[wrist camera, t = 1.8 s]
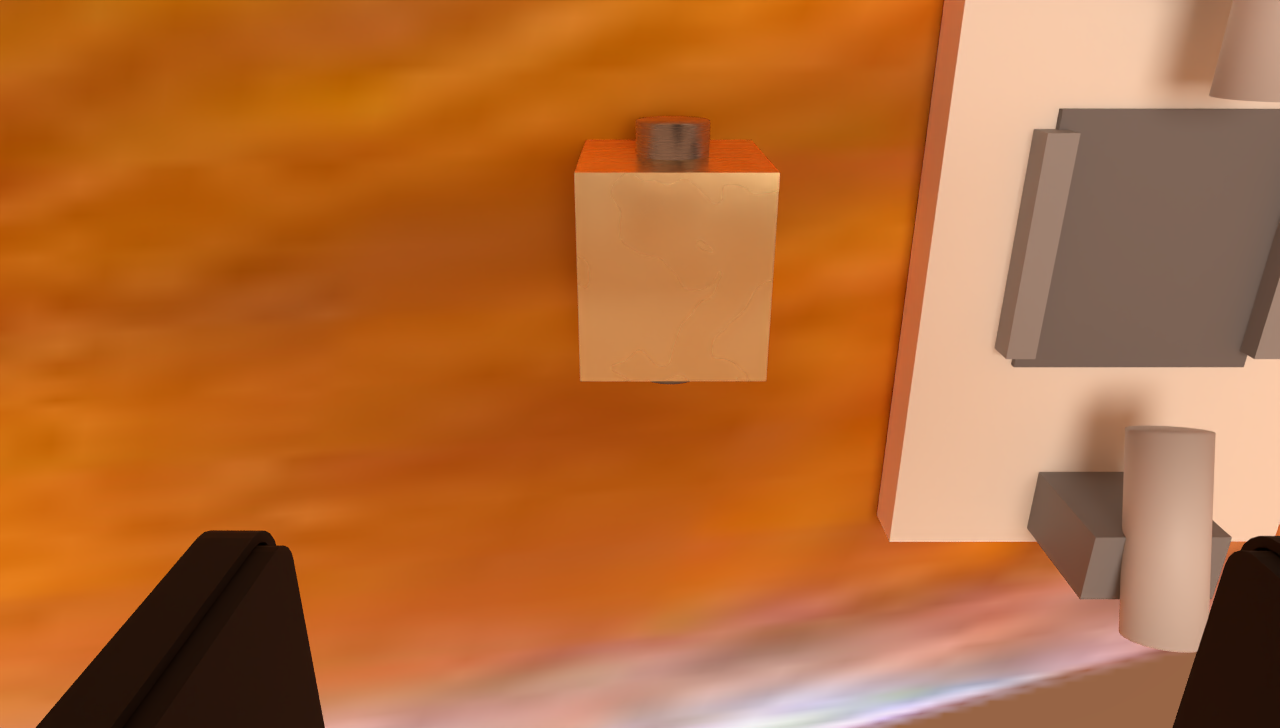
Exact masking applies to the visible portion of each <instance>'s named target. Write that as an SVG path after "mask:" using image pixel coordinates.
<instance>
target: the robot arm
mask: <svg viewBox="0 0 1280 728" xmlns="http://www.w3.org/2000/svg"><path fill="white" fill-rule="evenodd" d="M36 728H325V726H324V721H323V716H322V710H321V705H320V700H319V694H318V689H317V684H316V678H315V673H314V668H313V662H312V657H311V651H310V646H309V641H308V635H307V630H306V625H305V619H304V614H303V609H302V603H301V598H300V592H299V587H298V582H297V576H296V571H295V566H294V560H293V557H292V553H291V551H290V550H289V548H288V547H286V546H276V544H275V540H274V539H273V537H272V536H271V534H270V533H268V532H266V531H207V532H204V533H203V534H202V535H200V536H199V537H198V538H197V539H196V540H195V542H194V543H193V544H192V545H191V546H190V547H189V549H188V550H187V551H186V552H185V553H184V554H183V556H182V557H181V558H180V559H179V560H178V561H177V563H176V564H175V565H174V566H173V567H172V568H171V570H170V571H169V572H168V573H167V574H166V576H165V577H164V578H163V579H162V580H161V581H160V583H159V584H158V585H157V586H156V587H155V588H154V590H153V591H152V592H151V593H150V594H149V595H148V597H147V598H146V599H145V600H144V601H143V602H142V604H141V605H140V606H139V607H138V608H137V610H136V611H135V612H134V613H133V614H132V615H131V617H130V618H129V619H128V620H127V621H126V622H125V624H124V625H123V626H122V627H121V628H120V629H119V631H118V632H117V633H116V634H115V635H114V636H113V638H112V639H111V640H110V641H109V642H108V644H107V645H106V646H105V647H104V648H103V649H102V651H101V652H100V653H99V654H98V655H97V656H96V658H95V659H94V660H93V661H92V662H91V663H90V665H89V666H88V667H87V668H86V669H85V670H84V672H83V673H82V674H81V675H80V676H79V678H78V679H77V680H76V681H75V682H74V683H73V685H72V686H71V687H70V688H69V689H68V690H67V692H66V693H65V694H64V695H63V696H62V697H61V699H60V700H59V701H58V702H57V703H56V704H55V706H54V707H53V708H52V709H51V710H50V712H49V713H48V714H47V715H46V716H45V717H44V719H43V720H42V721H41V722H40V723H39V724H38V726H37V727H36ZM1173 728H1280V536H1257V537H1254V538H1251V539H1249V540H1248V541H1247V542H1246V543H1245V544H1244V545H1243V547H1242V549H1241V551H1237V552H1234V553H1233V554H1232V555H1231V556H1230V557H1229V558H1228V560H1227V562H1226V564H1225V567H1224V570H1223V573H1222V576H1221V579H1220V582H1219V585H1218V589H1217V592H1216V595H1215V598H1214V601H1213V604H1212V607H1211V610H1210V613H1209V616H1208V620H1207V623H1206V626H1205V629H1204V632H1203V635H1202V638H1201V641H1200V644H1199V647H1198V651H1197V654H1196V657H1195V660H1194V663H1193V666H1192V669H1191V672H1190V675H1189V678H1188V681H1187V685H1186V688H1185V691H1184V694H1183V697H1182V700H1181V703H1180V706H1179V709H1178V713H1177V716H1176V719H1175V722H1174V725H1173Z"/></svg>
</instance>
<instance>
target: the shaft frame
mask: <svg viewBox="0 0 1280 728" xmlns="http://www.w3.org/2000/svg"><path fill="white" fill-rule="evenodd" d="M877 517H878V519H879V521H880V523H881V525H882V527H883V529H884V531H885V533H886V536H887V538H888V540H889V542H1038V544H1039V545H1040V546H1041V548H1042V549H1043V550H1044V552H1045V553H1046V554H1047V556H1048V557H1049V558H1050V560H1051V561H1052V562H1053V564H1054V565H1055V566H1056V568H1057V569H1058V570H1059V572H1060V573H1061V574H1062V576H1063V577H1064V578H1065V580H1066V581H1067V582H1068V584H1069V585H1070V586H1071V588H1072V589H1073V590H1074V592H1075V593H1076V594H1077V596H1078V597H1079V598H1080V599H1120V609H1119V633H1120V634H1121V635H1122V636H1123V637H1125V638H1126V639H1128V640H1130V641H1132V642H1135V643H1137V644H1140V645H1143V646H1147V647H1150V648H1155V649H1159V650H1165V651H1173V652H1197V651H1198V647H1199V644H1200V641H1201V638H1202V635H1203V632H1204V629H1205V626H1206V623H1207V620H1208V616H1209V603H1210V599H1212V597H1213V594H1214V591H1215V588H1216V585H1217V582H1218V579H1219V576H1220V573H1221V569H1222V566H1223V563H1224V560H1225V557H1226V554H1227V551H1228V548H1229V545H1230V542H1231V541H1248V540H1249V539H1251V538H1254V537H1257V536H1275V534H1276V532H1277V529H1278V526H1279V523H1280V0H944V7H943V14H942V22H941V29H940V37H939V45H938V52H937V60H936V68H935V75H934V83H933V90H932V98H931V106H930V113H929V121H928V128H927V136H926V144H925V151H924V159H923V167H922V174H921V182H920V189H919V197H918V205H917V212H916V220H915V227H914V235H913V243H912V250H911V258H910V266H909V273H908V281H907V288H906V296H905V304H904V311H903V319H902V327H901V334H900V342H899V349H898V357H897V365H896V372H895V380H894V387H893V395H892V403H891V410H890V418H889V426H888V433H887V441H886V448H885V456H884V464H883V471H882V479H881V487H880V494H879V502H878V509H877Z"/></svg>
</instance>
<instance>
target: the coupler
mask: <svg viewBox="0 0 1280 728" xmlns="http://www.w3.org/2000/svg"><path fill="white" fill-rule="evenodd" d="M779 180H780V172H779V171H778V170H777V169H776V168H775V166H774V165H773V164H772V163H771V162H770V161H769V160H768V158H767V157H766V156H765V155H764V154H763V153H762V151H761V150H760V149H759V148H758V147H757V146H756V145H755V143H754V142H753V141H752V140H710V120H708V119H705V118H699V117H687V116H655V117H645V118H640V119H637V120H636V140H586V141H585V144H584V147H583V150H582V152H581V155H580V158H579V161H578V163H577V166H576V169H575V172H574V184H575V219H576V254H577V289H578V324H579V359H580V381H650V382H654V383H660V384H680V383H686V382H690V381H766V377H767V362H768V347H769V332H770V316H771V301H772V286H773V271H774V256H775V240H776V225H777V210H778V195H779Z"/></svg>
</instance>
